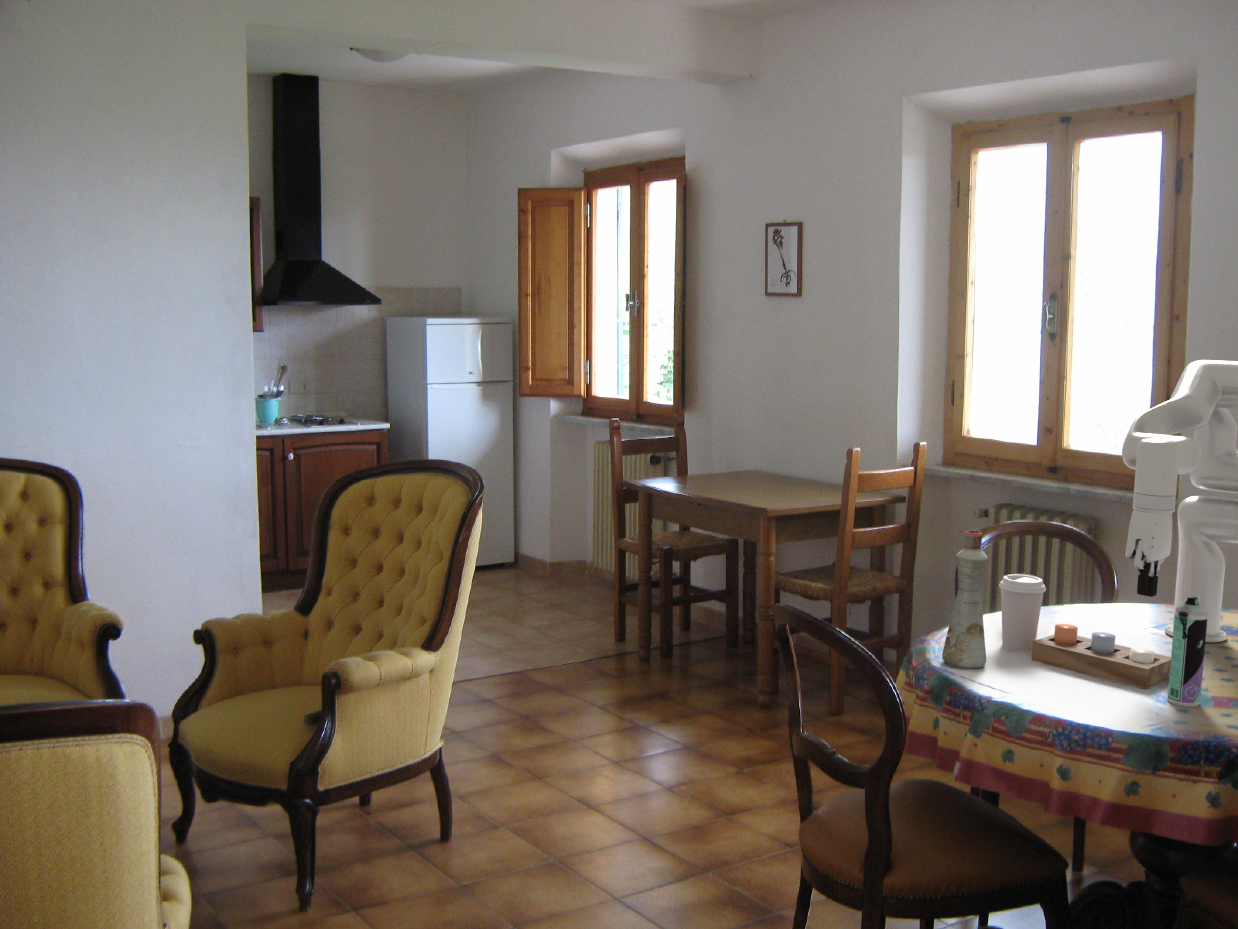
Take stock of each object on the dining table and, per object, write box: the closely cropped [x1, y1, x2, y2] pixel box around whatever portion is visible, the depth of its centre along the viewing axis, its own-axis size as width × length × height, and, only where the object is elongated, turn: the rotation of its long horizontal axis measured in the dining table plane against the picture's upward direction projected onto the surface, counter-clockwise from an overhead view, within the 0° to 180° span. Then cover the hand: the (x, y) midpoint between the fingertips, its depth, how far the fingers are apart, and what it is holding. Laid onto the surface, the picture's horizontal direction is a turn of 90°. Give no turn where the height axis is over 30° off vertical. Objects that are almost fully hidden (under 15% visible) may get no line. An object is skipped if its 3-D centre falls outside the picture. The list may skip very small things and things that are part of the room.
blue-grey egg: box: [1091, 631, 1116, 655], centre depth 245 cm, size 4×4×5 cm
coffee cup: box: [998, 573, 1047, 652], centre depth 259 cm, size 10×10×15 cm
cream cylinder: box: [1129, 647, 1155, 664], centre depth 239 cm, size 4×4×5 cm
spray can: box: [1167, 597, 1208, 708], centre depth 224 cm, size 6×6×20 cm
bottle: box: [941, 528, 989, 669], centre depth 244 cm, size 9×9×28 cm
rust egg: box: [1053, 623, 1079, 646], centre depth 251 cm, size 4×4×5 cm
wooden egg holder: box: [1030, 634, 1171, 690], centre depth 245 cm, size 12×24×4 cm, turn 42°
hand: (1146, 594), depth 238 cm, fingers closed
